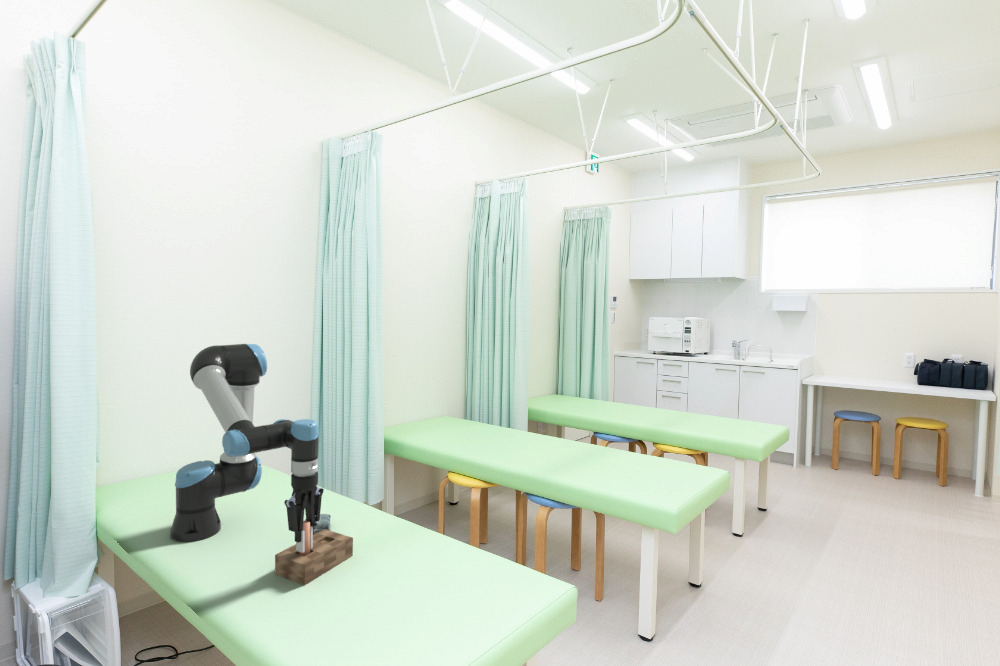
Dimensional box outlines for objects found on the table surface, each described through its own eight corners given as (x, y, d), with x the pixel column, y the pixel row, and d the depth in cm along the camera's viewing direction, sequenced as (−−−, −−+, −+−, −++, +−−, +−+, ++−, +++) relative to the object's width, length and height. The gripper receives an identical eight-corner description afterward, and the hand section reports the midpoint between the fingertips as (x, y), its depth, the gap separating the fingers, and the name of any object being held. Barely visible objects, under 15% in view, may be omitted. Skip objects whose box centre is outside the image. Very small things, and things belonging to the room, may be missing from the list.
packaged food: (303, 539, 184) (304, 525, 183) (305, 524, 195) (305, 511, 195) (330, 537, 186) (331, 523, 186) (330, 522, 198) (330, 509, 197)
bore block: (275, 574, 161) (275, 554, 160) (324, 546, 179) (324, 529, 178) (304, 585, 156) (304, 565, 155) (352, 555, 174) (352, 537, 173)
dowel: (297, 562, 162) (297, 523, 161) (304, 557, 165) (304, 519, 164) (304, 564, 161) (304, 525, 160) (312, 560, 164) (312, 521, 163)
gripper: (293, 482, 152) (293, 563, 154) (333, 467, 166) (332, 541, 168) (274, 477, 155) (274, 557, 157) (315, 463, 169) (314, 536, 171)
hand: (304, 548), depth 163 cm, fingers closed on dowel, 2 cm apart
